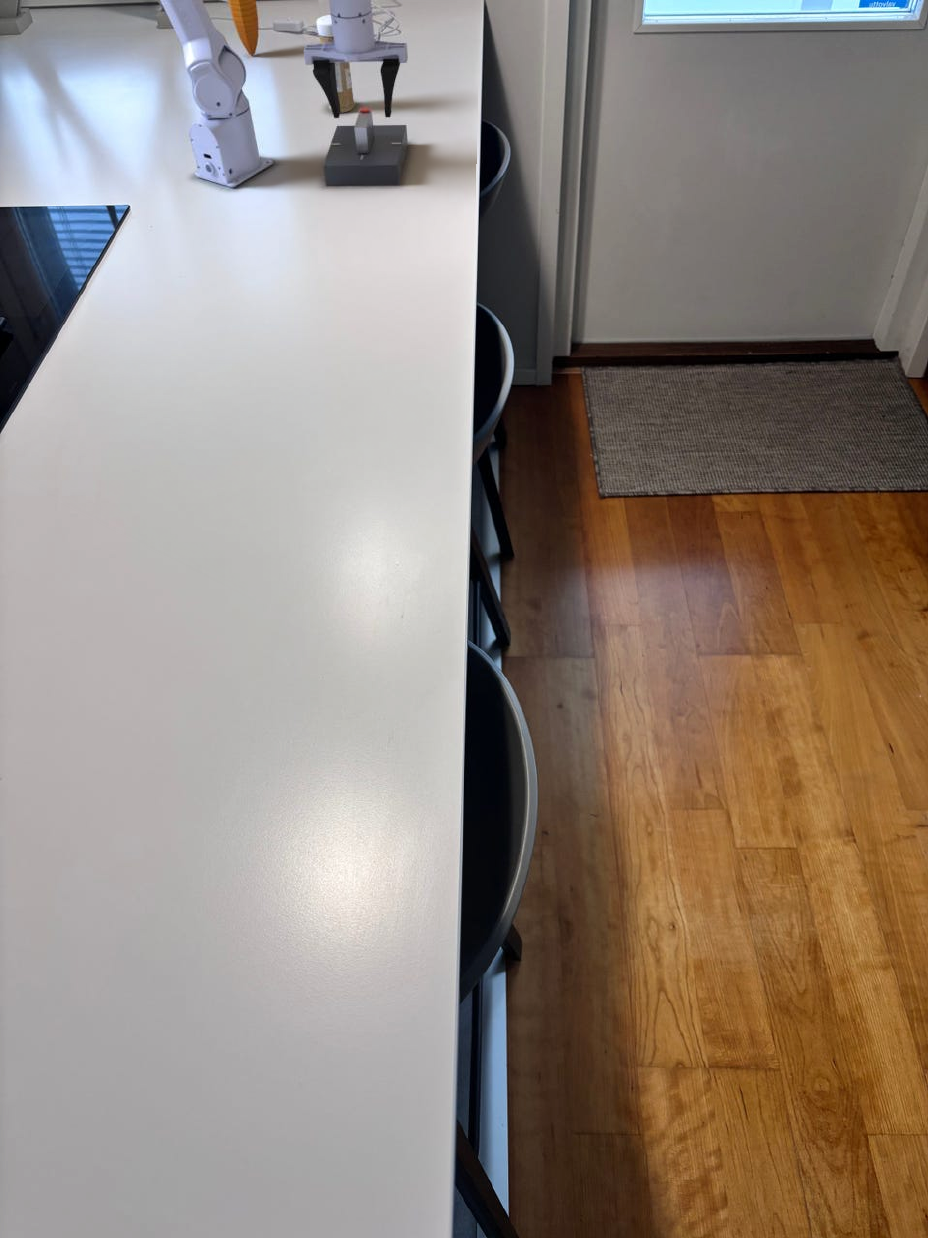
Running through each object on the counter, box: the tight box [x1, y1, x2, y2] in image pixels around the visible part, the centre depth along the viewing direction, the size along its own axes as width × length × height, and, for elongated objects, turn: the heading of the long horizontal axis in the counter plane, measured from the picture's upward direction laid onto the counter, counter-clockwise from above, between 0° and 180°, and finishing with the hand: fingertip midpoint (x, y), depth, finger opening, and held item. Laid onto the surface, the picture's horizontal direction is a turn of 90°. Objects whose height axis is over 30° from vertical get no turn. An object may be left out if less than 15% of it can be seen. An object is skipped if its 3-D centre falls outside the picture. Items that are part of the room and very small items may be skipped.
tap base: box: [322, 124, 409, 187], centre depth 145 cm, size 14×11×3 cm
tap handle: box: [354, 107, 374, 154], centre depth 143 cm, size 6×2×4 cm, turn 177°
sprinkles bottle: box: [316, 14, 356, 114], centre depth 156 cm, size 5×5×13 cm
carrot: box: [227, 0, 259, 57], centre depth 173 cm, size 5×5×15 cm
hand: (362, 114), depth 141 cm, fingers open, 7 cm apart
